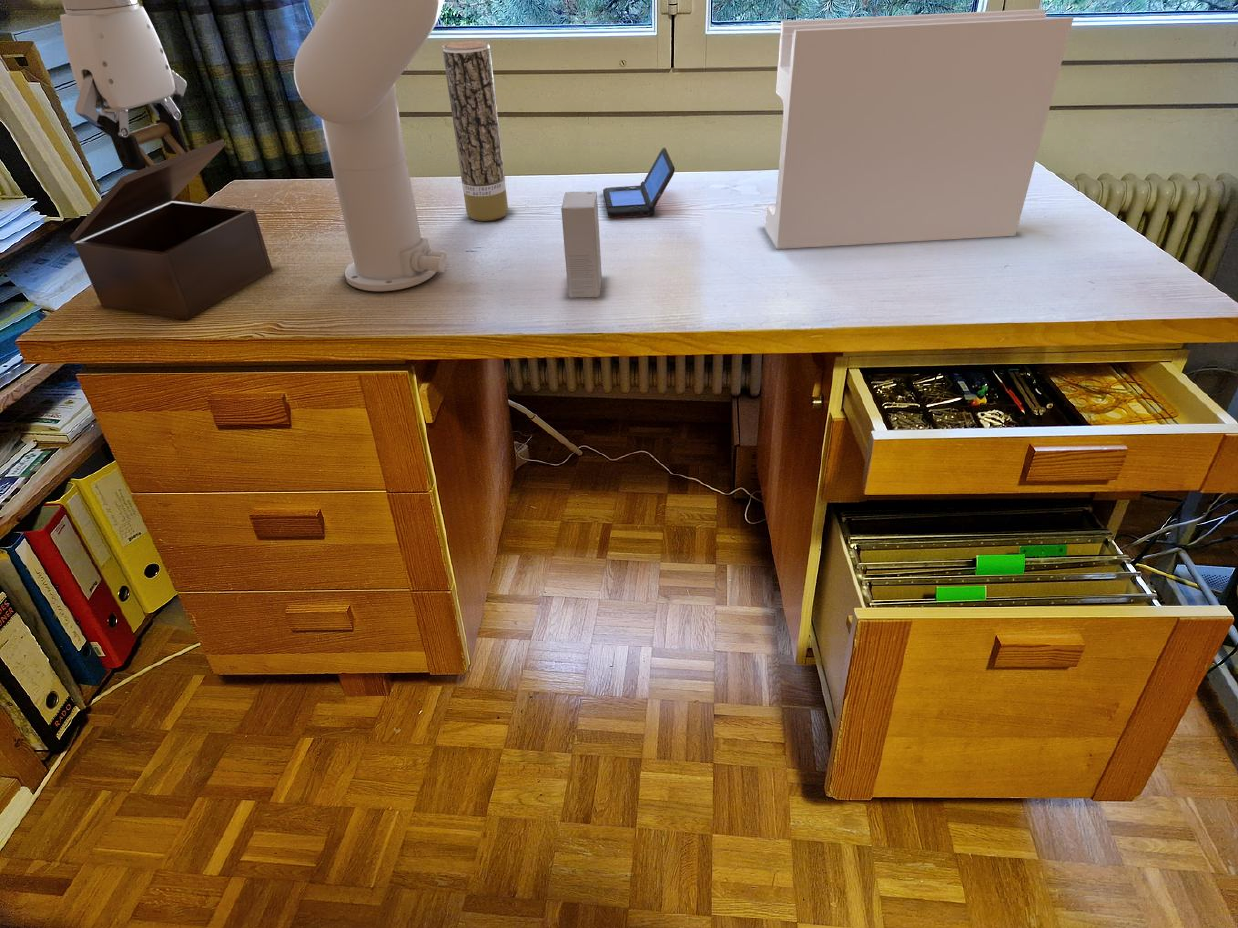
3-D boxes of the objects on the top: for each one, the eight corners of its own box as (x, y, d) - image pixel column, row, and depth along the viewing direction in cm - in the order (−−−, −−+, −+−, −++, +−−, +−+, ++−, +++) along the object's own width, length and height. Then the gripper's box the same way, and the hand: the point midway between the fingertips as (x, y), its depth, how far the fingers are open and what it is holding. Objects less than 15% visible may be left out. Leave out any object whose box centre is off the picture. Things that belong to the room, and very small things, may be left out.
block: (776, 249, 117) (795, 31, 100) (765, 229, 123) (781, 21, 106) (1015, 235, 118) (1073, 18, 101) (991, 216, 124) (1042, 9, 108)
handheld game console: (602, 194, 138) (600, 149, 134) (665, 190, 139) (665, 146, 135) (607, 220, 128) (605, 172, 124) (675, 216, 129) (675, 168, 125)
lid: (226, 144, 106) (197, 106, 105) (125, 183, 94) (90, 141, 92) (173, 200, 115) (145, 166, 113) (74, 242, 103) (40, 204, 101)
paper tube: (516, 216, 131) (497, 44, 116) (478, 225, 128) (454, 51, 113) (497, 205, 136) (476, 39, 121) (460, 214, 133) (434, 45, 118)
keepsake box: (273, 270, 116) (254, 209, 111) (187, 320, 104) (161, 255, 99) (193, 259, 121) (172, 200, 115) (101, 306, 108) (73, 243, 103)
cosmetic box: (570, 279, 110) (564, 191, 103) (602, 278, 110) (597, 190, 103) (567, 298, 105) (560, 207, 98) (600, 298, 105) (595, 206, 98)
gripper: (134, -14, 98) (185, 141, 109) (3, 6, 85) (76, 179, 96) (182, -13, 96) (229, 145, 107) (56, 8, 83) (123, 185, 94)
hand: (156, 160), depth 101 cm, fingers closed on lid, 6 cm apart
